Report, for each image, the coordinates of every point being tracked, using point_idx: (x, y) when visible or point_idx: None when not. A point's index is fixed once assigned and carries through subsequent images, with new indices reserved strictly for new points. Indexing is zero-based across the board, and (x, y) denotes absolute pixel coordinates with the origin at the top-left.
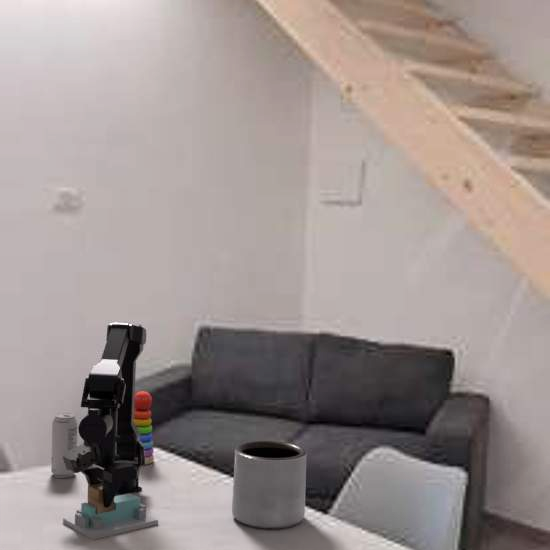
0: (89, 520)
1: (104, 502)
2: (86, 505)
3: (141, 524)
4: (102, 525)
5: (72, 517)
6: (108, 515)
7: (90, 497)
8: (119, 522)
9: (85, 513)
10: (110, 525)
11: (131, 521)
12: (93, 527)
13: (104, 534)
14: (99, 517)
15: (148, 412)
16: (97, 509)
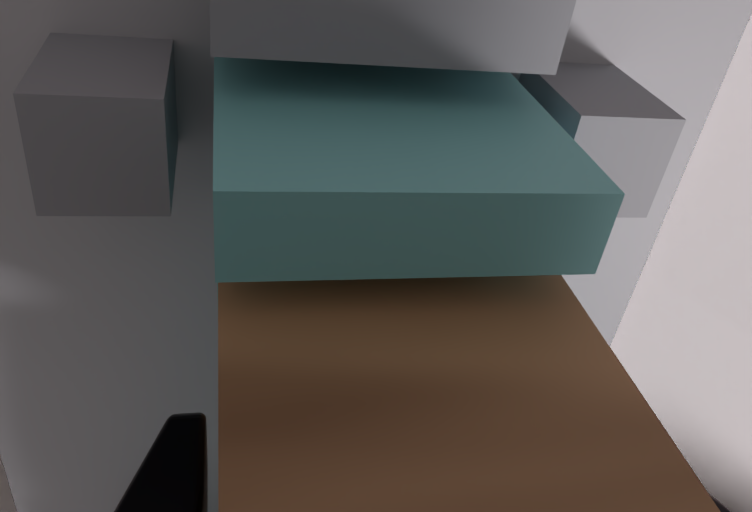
0: (266, 77)
1: (162, 480)
2: (446, 202)
3: (17, 501)
4: (183, 200)
5: (695, 60)
6: None
7: (535, 397)
8: (171, 382)
9: (414, 115)
10: (126, 272)
11: (129, 469)
12: (134, 44)
13: None
14: (148, 215)
15: None
16: (221, 288)
